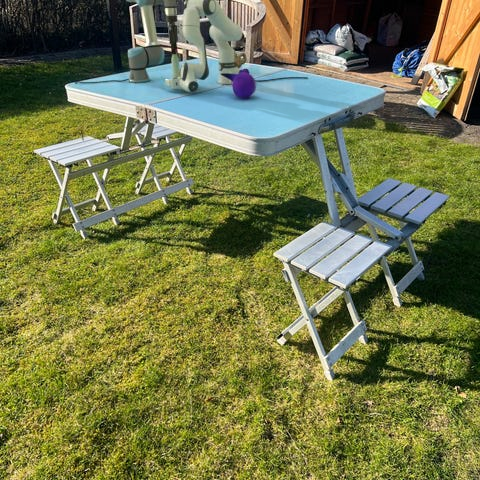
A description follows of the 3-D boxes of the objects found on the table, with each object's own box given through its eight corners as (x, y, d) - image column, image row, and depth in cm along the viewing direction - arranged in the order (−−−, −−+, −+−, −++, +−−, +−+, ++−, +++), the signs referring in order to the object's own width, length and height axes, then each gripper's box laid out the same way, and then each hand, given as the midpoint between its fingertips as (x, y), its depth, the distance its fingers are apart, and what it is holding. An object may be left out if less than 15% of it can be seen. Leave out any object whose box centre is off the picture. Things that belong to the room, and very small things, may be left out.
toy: (241, 90, 304) (255, 103, 283) (217, 85, 296) (230, 99, 276) (247, 66, 296) (262, 78, 275) (223, 61, 288) (236, 73, 268)
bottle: (181, 89, 312) (178, 51, 300) (174, 89, 312) (170, 51, 299) (181, 87, 316) (178, 50, 304) (174, 88, 316) (170, 50, 303)
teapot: (227, 72, 362) (226, 52, 355) (220, 70, 371) (219, 51, 363) (249, 69, 371) (249, 50, 364) (242, 67, 380) (242, 48, 372)
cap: (175, 54, 300) (175, 50, 299) (170, 54, 302) (169, 50, 300) (179, 53, 303) (178, 49, 302) (173, 53, 305) (173, 49, 304)
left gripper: (168, 14, 298) (172, 51, 310) (162, 16, 284) (165, 55, 295) (180, 14, 298) (182, 51, 309) (173, 16, 283) (177, 55, 295)
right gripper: (197, 75, 304) (189, 72, 314) (169, 79, 295) (162, 76, 306) (198, 85, 307) (190, 82, 317) (170, 89, 298) (163, 85, 309)
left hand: (174, 53), depth 302 cm, fingers closed on cap, 4 cm apart
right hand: (176, 79), depth 311 cm, fingers closed on bottle, 5 cm apart
